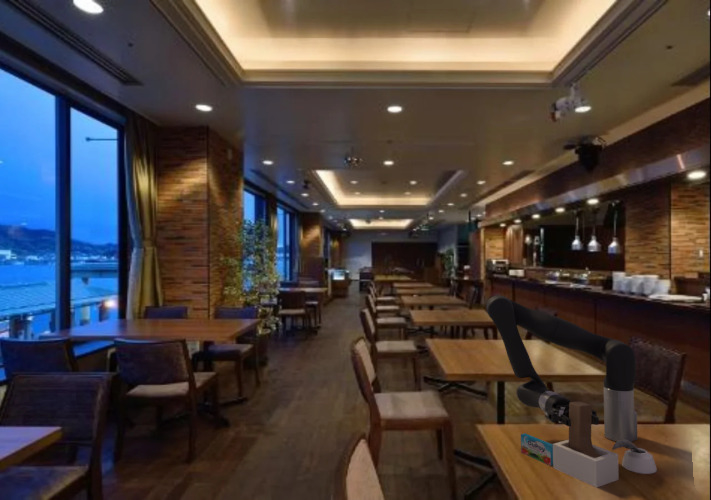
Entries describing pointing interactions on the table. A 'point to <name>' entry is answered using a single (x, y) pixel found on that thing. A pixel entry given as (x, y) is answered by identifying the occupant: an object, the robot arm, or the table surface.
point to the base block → (586, 464)
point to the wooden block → (581, 428)
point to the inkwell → (636, 458)
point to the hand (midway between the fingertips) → (583, 422)
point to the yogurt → (537, 449)
